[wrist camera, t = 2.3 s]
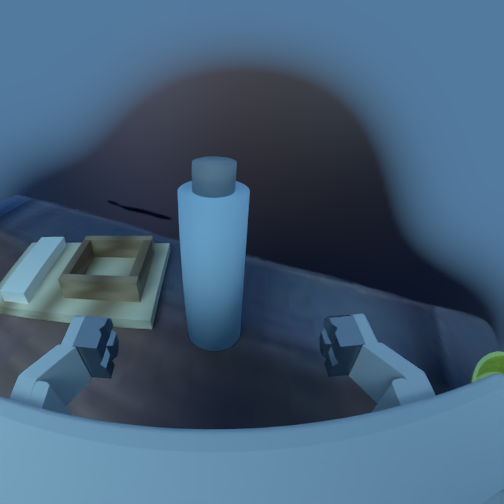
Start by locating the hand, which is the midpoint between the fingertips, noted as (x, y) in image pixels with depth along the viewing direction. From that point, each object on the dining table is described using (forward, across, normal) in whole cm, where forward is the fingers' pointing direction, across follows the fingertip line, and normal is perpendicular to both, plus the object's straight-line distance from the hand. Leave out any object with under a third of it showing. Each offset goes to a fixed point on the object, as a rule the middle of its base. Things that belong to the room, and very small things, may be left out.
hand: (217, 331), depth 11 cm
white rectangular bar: (+19, +24, +11) cm, 33 cm away
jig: (+19, +18, +13) cm, 29 cm away
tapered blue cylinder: (+12, +1, +13) cm, 18 cm away
